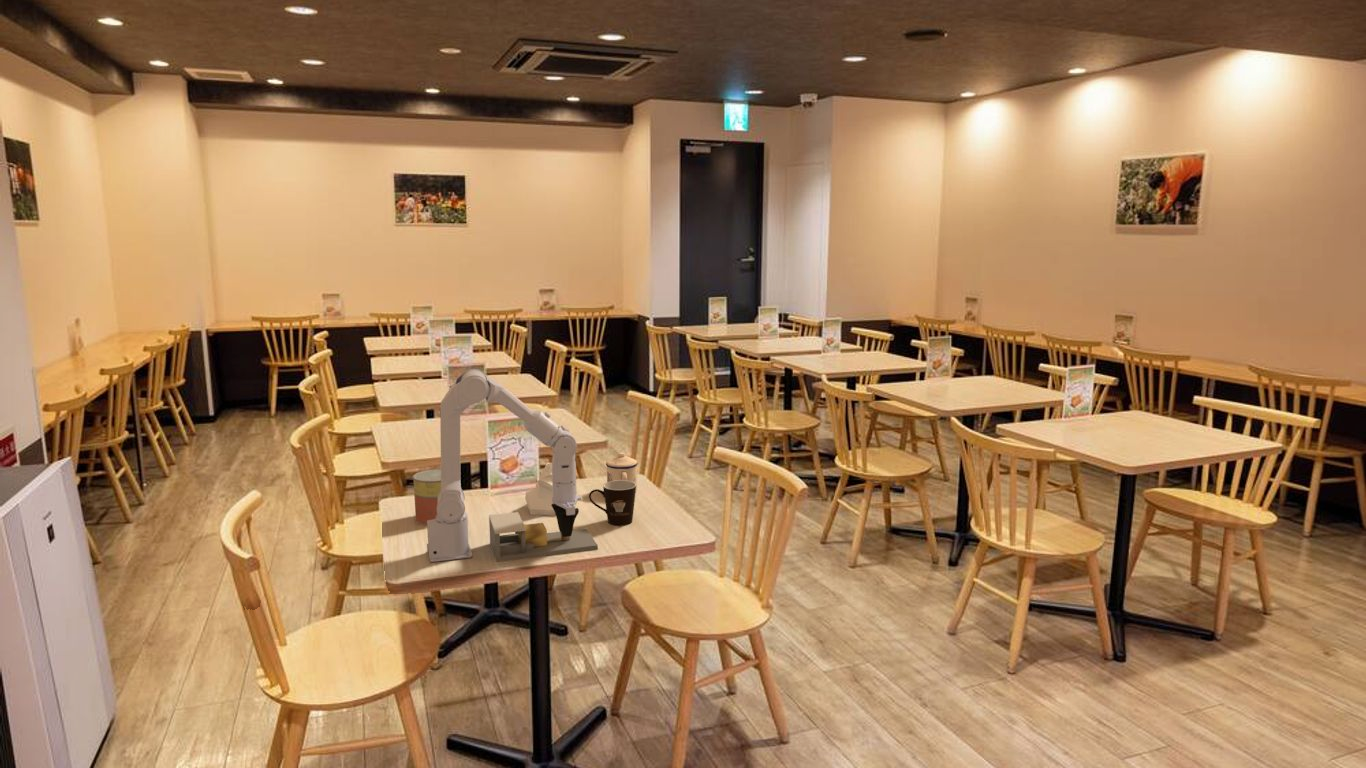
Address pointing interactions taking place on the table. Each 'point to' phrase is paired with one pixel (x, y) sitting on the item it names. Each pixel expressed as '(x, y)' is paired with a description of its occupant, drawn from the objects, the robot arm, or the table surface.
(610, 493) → the coffee mug
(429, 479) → the canned food
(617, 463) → the teacup with lid
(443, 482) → the robot arm
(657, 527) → the table surface
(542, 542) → the yellow block
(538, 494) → the cream faceted rock
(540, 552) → the plate
